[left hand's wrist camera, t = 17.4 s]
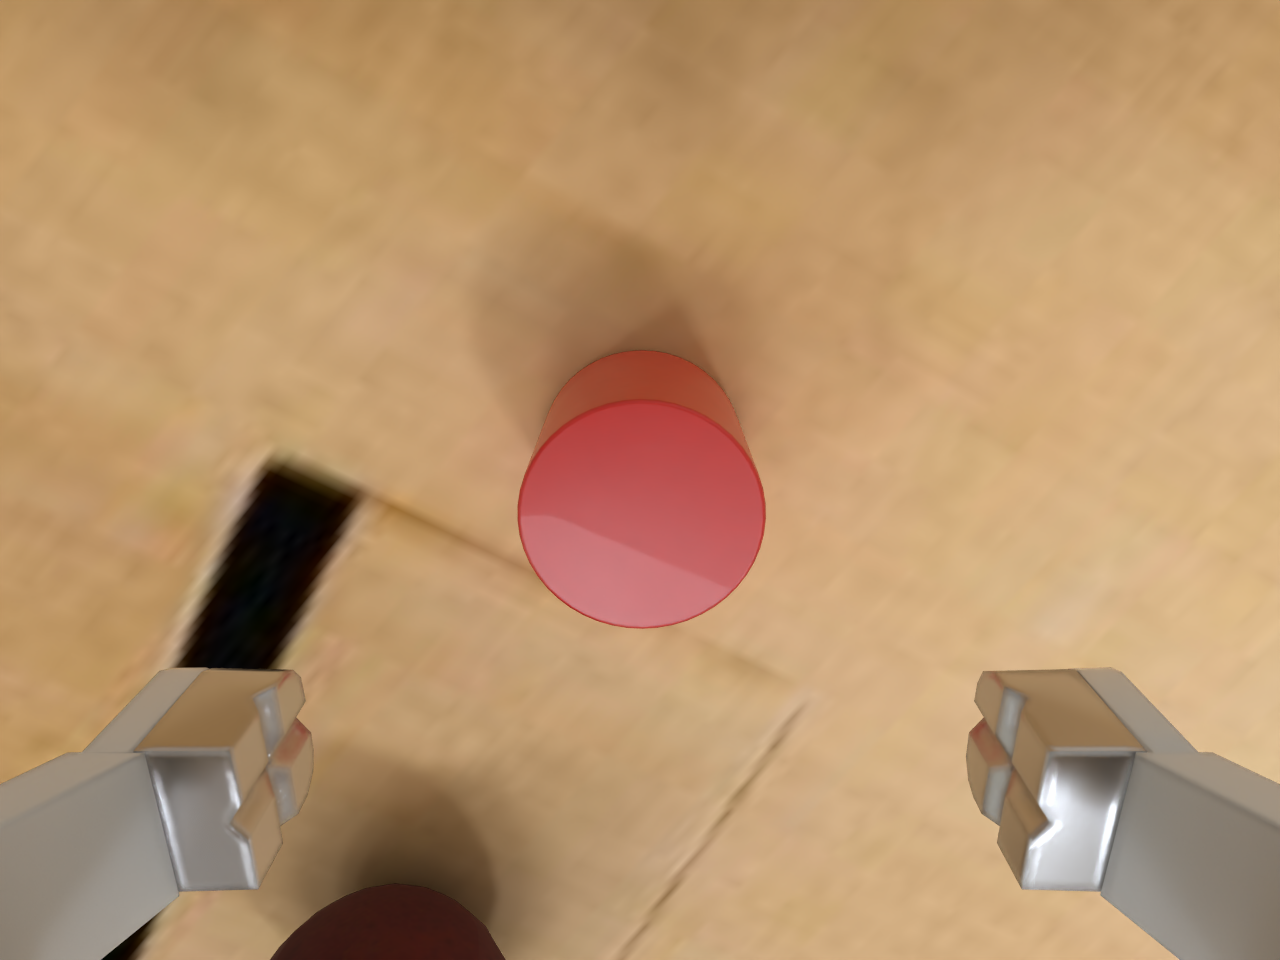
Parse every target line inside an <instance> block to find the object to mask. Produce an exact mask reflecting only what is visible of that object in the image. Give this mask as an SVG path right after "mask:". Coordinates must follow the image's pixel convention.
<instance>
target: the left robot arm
mask: <svg viewBox="0 0 1280 960" xmlns="http://www.w3.org/2000/svg"><path fill="white" fill-rule="evenodd" d="M305 702H306V700H305V695H304V690H303V685H302V680H301V677H300V676H299V675H298V674H297V673H296V672H295V671H294V670H277V669H228V668H212V669H208V668H170V669H166V670H162V671H159V672H158V673H157V674H156V675H155V676H154V677H153V678H152V679H151V680H150V681H149V682H148V684H147V685H146V686H145V687H144V688H143V689H142V690H141V691H140V692H139V693H138V694H137V695H136V696H135V697H134V698H133V699H132V700H131V701H130V702H129V703H128V704H127V705H126V707H125V708H124V709H123V710H122V711H121V712H120V713H119V714H118V715H117V716H116V717H115V718H114V719H113V720H112V721H111V722H110V723H109V724H108V725H107V726H106V727H105V728H104V730H103V731H102V732H101V733H100V734H99V735H98V736H97V737H96V738H95V739H94V740H93V741H92V742H91V743H90V744H89V745H88V746H87V747H86V748H85V749H84V750H83V751H82V752H80V753H65V754H63V755H61V756H59V757H57V758H55V759H53V760H51V761H48V762H46V763H44V764H42V765H40V766H38V767H36V768H34V769H31V770H29V771H27V772H25V773H23V774H21V775H19V776H17V777H15V778H12V779H10V780H8V781H6V782H4V783H2V784H0V960H101V959H102V958H103V957H104V956H106V955H107V954H108V953H109V952H111V951H112V950H113V949H114V948H115V947H117V946H118V945H119V944H120V943H122V942H123V941H124V940H125V939H127V938H128V937H129V936H130V935H131V934H133V933H134V932H135V931H136V930H138V929H139V928H140V927H141V926H143V925H144V924H145V923H146V922H147V921H149V920H150V919H151V918H152V917H154V916H155V915H156V914H157V913H159V912H160V911H161V910H162V909H163V908H165V907H166V906H167V905H168V904H170V903H171V902H172V901H173V900H175V899H176V898H177V897H178V896H179V891H213V890H248V889H259V887H260V885H261V883H262V881H263V879H264V878H265V876H266V874H267V872H268V870H269V868H270V866H271V864H272V863H273V861H274V859H275V857H276V855H277V853H278V851H279V849H280V848H281V846H282V844H283V840H282V834H281V829H280V826H281V825H283V824H284V823H285V822H287V821H288V820H290V819H291V818H293V817H294V816H296V815H297V814H298V813H299V811H300V809H301V807H302V805H303V803H304V801H305V799H306V797H307V795H308V791H309V787H310V782H311V778H312V774H313V753H314V750H313V743H312V737H311V732H310V731H309V730H308V729H307V728H306V727H305V726H304V725H303V724H302V723H301V722H300V721H299V720H298V719H297V718H296V716H297V715H298V713H299V711H300V710H301V708H302V706H303V705H304V703H305ZM974 702H975V703H976V705H977V706H978V708H979V710H980V711H981V713H982V715H983V716H984V718H983V719H982V720H981V721H980V722H979V723H978V724H977V725H976V726H975V727H974V728H973V729H972V730H971V731H970V732H969V737H968V745H967V753H966V761H967V772H968V781H969V784H970V787H971V791H972V794H973V797H974V799H975V801H976V803H977V805H978V807H979V809H980V811H981V813H982V814H983V815H984V816H986V817H987V818H989V819H990V820H992V821H993V822H995V823H996V824H998V825H999V826H1000V829H999V834H998V840H997V844H998V846H999V848H1000V849H1001V851H1002V853H1003V855H1004V857H1005V859H1006V861H1007V863H1008V864H1009V866H1010V868H1011V870H1012V872H1013V874H1014V876H1015V877H1016V879H1017V881H1018V883H1019V885H1020V887H1021V889H1030V890H1066V891H1101V896H1102V897H1103V898H1105V899H1106V900H1107V901H1108V902H1110V903H1111V904H1112V905H1113V906H1114V907H1116V908H1117V909H1118V910H1119V911H1121V912H1122V913H1123V914H1124V915H1125V916H1127V917H1128V918H1129V919H1130V920H1132V921H1133V922H1134V923H1135V924H1137V925H1138V926H1139V927H1140V928H1141V929H1143V930H1144V931H1145V932H1146V933H1148V934H1149V935H1150V936H1151V937H1153V938H1154V939H1155V940H1156V941H1157V942H1159V943H1160V944H1161V945H1162V946H1164V947H1165V948H1166V949H1167V950H1169V951H1170V952H1171V953H1172V954H1173V955H1175V956H1176V957H1177V958H1178V959H1180V960H1280V784H1278V783H1276V782H1274V781H1272V780H1270V779H1267V778H1265V777H1263V776H1261V775H1259V774H1257V773H1255V772H1253V771H1251V770H1248V769H1246V768H1244V767H1242V766H1240V765H1238V764H1236V763H1234V762H1231V761H1229V760H1227V759H1225V758H1223V757H1221V756H1219V755H1217V754H1215V753H1200V752H1198V751H1197V750H1196V749H1195V748H1194V747H1193V746H1192V745H1191V744H1190V743H1189V742H1188V741H1187V740H1186V739H1185V738H1184V737H1183V736H1182V735H1181V734H1180V733H1179V732H1178V730H1177V729H1176V728H1175V727H1174V726H1173V725H1172V724H1171V723H1170V722H1169V721H1168V720H1167V719H1166V718H1165V717H1164V716H1163V715H1162V714H1161V713H1160V712H1159V711H1158V710H1157V708H1156V707H1155V706H1154V705H1153V704H1152V703H1151V702H1150V701H1149V700H1148V699H1147V698H1146V697H1145V696H1144V695H1143V694H1142V693H1141V692H1140V691H1139V690H1138V689H1137V688H1136V686H1135V685H1134V684H1133V683H1132V682H1131V681H1130V680H1129V679H1128V678H1127V677H1126V676H1125V675H1124V674H1123V673H1122V672H1120V671H1118V670H1116V669H1113V668H1111V667H1106V668H1078V669H1060V670H1015V671H983V673H982V675H981V677H980V679H979V681H978V683H977V688H976V694H975V700H974Z"/></svg>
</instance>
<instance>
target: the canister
mask: <svg viewBox="0 0 1280 960" xmlns="http://www.w3.org/2000/svg"><path fill="white" fill-rule="evenodd" d="M765 521H766V506H765V498H764V492H763V487H762V484H761V481H760V478H759V475H758V472H757V469H756V466H755V464H754V461H753V458H752V456H751V453H750V451H749V448H748V445H747V443H746V440H745V437H744V435H743V432H742V429H741V427H740V424H739V421H738V419H737V416H736V413H735V411H734V409H733V407H732V405H731V403H730V400H729V399H728V397H727V396H726V394H725V393H724V391H723V390H722V388H721V387H720V386H719V385H718V384H717V383H716V382H715V381H714V379H712V378H711V377H710V376H709V375H708V374H707V373H706V372H704V371H703V370H702V369H700V368H699V367H697V366H695V365H694V364H692V363H690V362H688V361H686V360H684V359H682V358H680V357H677V356H674V355H670V354H667V353H662V352H657V351H644V350H639V351H627V352H622V353H617V354H613V355H610V356H607V357H604V358H601V359H599V360H597V361H595V362H593V363H591V364H590V365H588V366H587V367H585V368H584V369H582V370H581V371H579V372H578V373H577V374H576V375H575V376H574V377H572V378H571V379H570V380H569V381H568V382H567V383H566V385H565V386H564V387H563V388H562V389H561V391H560V392H559V394H558V395H557V397H556V398H555V400H554V402H553V404H552V406H551V408H550V410H549V412H548V415H547V418H546V420H545V423H544V425H543V428H542V431H541V433H540V436H539V439H538V441H537V444H536V446H535V449H534V452H533V454H532V457H531V459H530V462H529V465H528V467H527V470H526V473H525V475H524V478H523V482H522V485H521V488H520V493H519V500H518V527H519V534H520V538H521V542H522V545H523V549H524V551H525V553H526V556H527V558H528V560H529V563H530V564H531V566H532V568H533V569H534V571H535V573H536V574H537V576H538V577H539V578H540V580H541V581H542V582H543V583H544V585H545V586H546V587H547V588H548V589H549V590H550V591H551V592H552V593H553V594H554V595H555V596H556V597H557V598H558V599H560V600H561V601H562V602H564V603H565V604H566V605H568V606H569V607H570V608H572V609H574V610H576V611H577V612H579V613H581V614H582V615H585V616H587V617H589V618H592V619H594V620H596V621H599V622H603V623H606V624H610V625H614V626H620V627H626V628H642V629H643V628H658V627H664V626H669V625H674V624H677V623H681V622H684V621H687V620H690V619H692V618H694V617H696V616H699V615H701V614H703V613H705V612H706V611H708V610H710V609H711V608H713V607H715V606H716V605H717V604H719V603H720V602H721V601H722V600H724V599H725V598H726V597H727V596H728V595H729V594H730V593H731V592H732V591H733V590H734V589H735V588H736V587H737V586H738V585H739V584H740V583H741V581H742V580H743V579H744V578H745V576H746V575H747V573H748V572H749V570H750V568H751V567H752V565H753V563H754V561H755V559H756V557H757V554H758V552H759V550H760V547H761V543H762V539H763V535H764V530H765Z"/></svg>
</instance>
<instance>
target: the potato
mask: <svg viewBox="0 0 1280 960" xmlns="http://www.w3.org/2000/svg"><path fill="white" fill-rule="evenodd" d="M270 960H505V958H504V956H503V955H502V953H501V952H500V950H499V948H498V947H497V945H496V944H495V942H494V940H493V938H492V937H491V935H490V933H489V931H488V929H487V928H486V926H485V925H484V924H483V923H482V922H480V921H479V920H478V919H477V918H476V917H475V916H474V915H472V914H471V913H470V912H469V911H468V910H467V909H465V908H464V907H463V906H462V905H460V904H459V903H458V902H457V901H455V900H453V899H452V898H450V897H448V896H446V895H444V894H441V893H439V892H436V891H434V890H431V889H428V888H426V887H420V886H412V885H404V884H397V883H394V884H388V885H382V886H376V887H370V888H365V889H363V890H360V891H357V892H354V893H352V894H349V895H346V896H345V897H343V898H341V899H339V900H337V901H335V902H333V903H331V904H330V905H328V906H326V907H325V908H323V909H322V910H320V911H318V912H317V913H316V914H314V915H313V916H312V917H311V918H310V919H308V920H307V921H306V922H305V923H304V924H303V925H301V926H300V927H299V928H298V929H297V930H296V931H294V933H293V934H292V935H291V936H290V937H289V938H288V939H287V940H286V941H285V942H284V943H283V944H282V945H281V946H280V947H279V948H278V950H277V951H276V952H275V954H274V955H273V957H272V958H271V959H270Z"/></svg>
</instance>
